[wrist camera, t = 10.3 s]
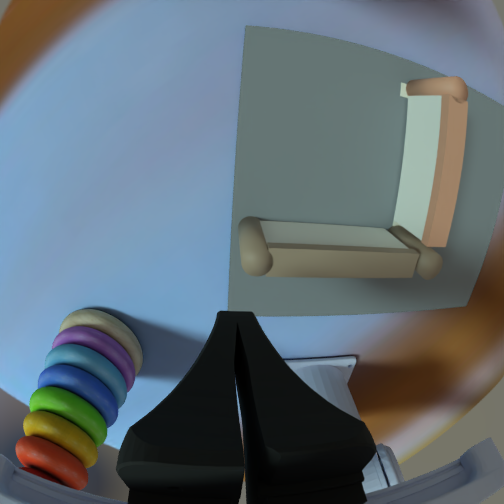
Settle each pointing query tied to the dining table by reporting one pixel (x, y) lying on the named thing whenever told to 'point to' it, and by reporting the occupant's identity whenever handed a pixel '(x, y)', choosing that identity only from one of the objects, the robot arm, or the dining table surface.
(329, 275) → the fence fixed
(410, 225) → the hinged fence panel
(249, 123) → the mat
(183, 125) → the dining table surface
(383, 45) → the dining table surface
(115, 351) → the stacking toy
